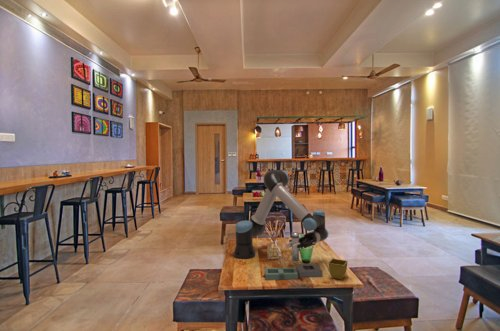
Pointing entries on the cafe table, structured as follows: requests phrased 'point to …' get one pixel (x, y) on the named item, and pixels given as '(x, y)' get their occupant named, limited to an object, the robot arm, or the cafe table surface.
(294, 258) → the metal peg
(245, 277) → the cafe table surface
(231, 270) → the cafe table surface
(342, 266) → the flower pot
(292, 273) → the frame
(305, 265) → the socket block
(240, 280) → the cafe table surface
